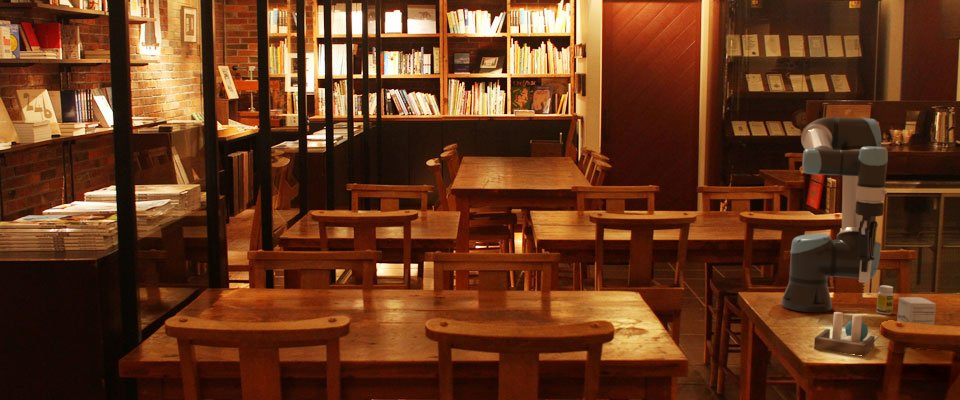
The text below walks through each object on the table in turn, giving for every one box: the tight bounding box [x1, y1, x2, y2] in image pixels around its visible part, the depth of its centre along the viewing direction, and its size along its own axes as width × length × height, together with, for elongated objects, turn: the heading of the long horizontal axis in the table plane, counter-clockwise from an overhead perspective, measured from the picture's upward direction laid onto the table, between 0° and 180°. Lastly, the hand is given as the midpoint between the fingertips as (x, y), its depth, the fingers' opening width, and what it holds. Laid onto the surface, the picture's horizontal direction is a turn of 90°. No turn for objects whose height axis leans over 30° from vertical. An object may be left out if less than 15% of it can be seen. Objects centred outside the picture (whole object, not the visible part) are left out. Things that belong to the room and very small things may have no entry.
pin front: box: [843, 336, 851, 342], centre depth 284 cm, size 2×2×9 cm
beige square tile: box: [841, 330, 879, 343], centre depth 294 cm, size 10×10×1 cm
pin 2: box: [851, 314, 863, 343], centre depth 283 cm, size 2×2×9 cm
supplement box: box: [896, 296, 937, 326], centre depth 288 cm, size 7×7×13 cm
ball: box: [844, 320, 869, 341], centre depth 290 cm, size 6×6×6 cm
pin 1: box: [831, 311, 844, 340], centre depth 286 cm, size 2×2×9 cm
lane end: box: [813, 328, 876, 357], centre depth 283 cm, size 13×12×3 cm
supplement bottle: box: [876, 285, 895, 315], centre depth 325 cm, size 5×5×8 cm
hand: (864, 282), depth 297 cm, fingers closed
